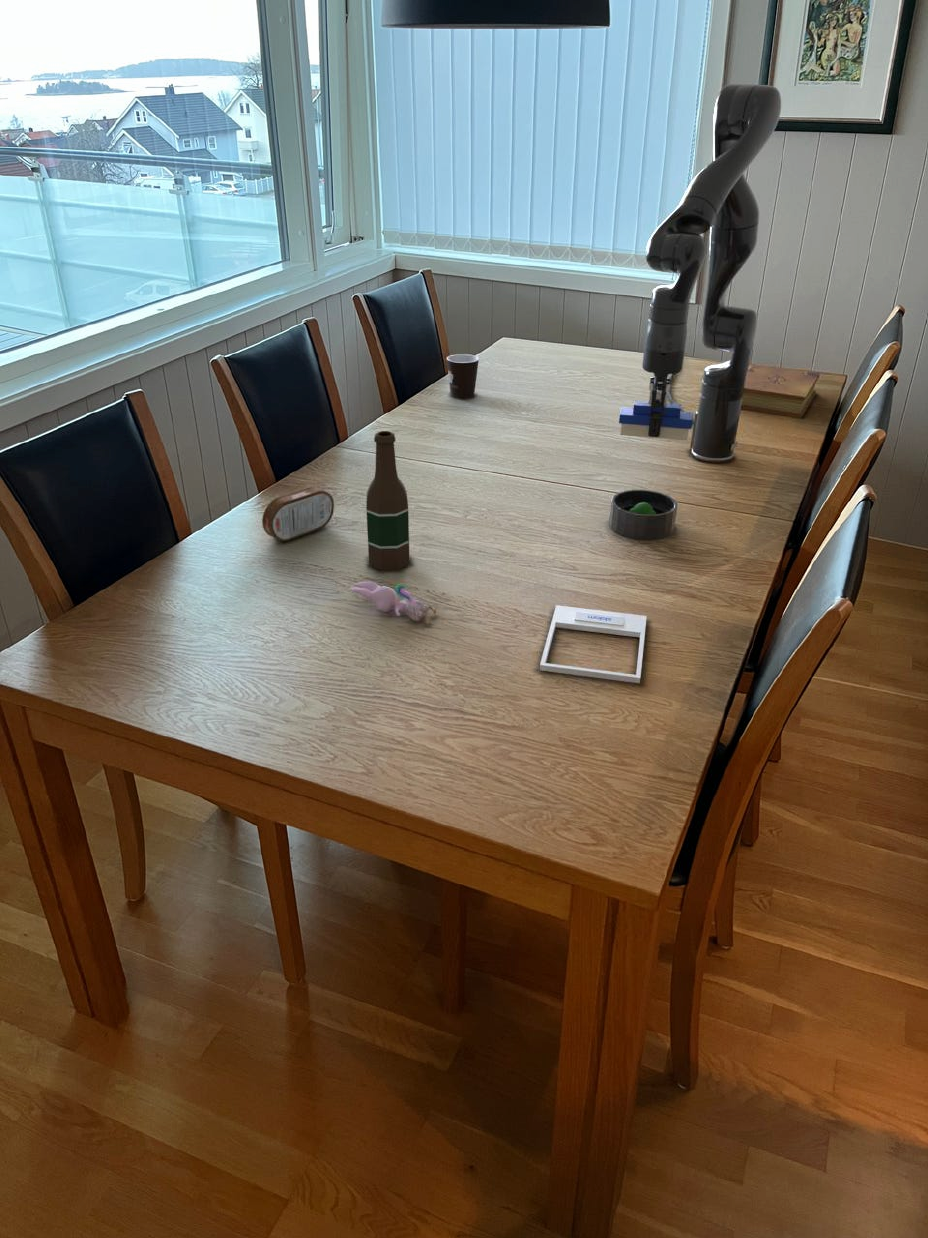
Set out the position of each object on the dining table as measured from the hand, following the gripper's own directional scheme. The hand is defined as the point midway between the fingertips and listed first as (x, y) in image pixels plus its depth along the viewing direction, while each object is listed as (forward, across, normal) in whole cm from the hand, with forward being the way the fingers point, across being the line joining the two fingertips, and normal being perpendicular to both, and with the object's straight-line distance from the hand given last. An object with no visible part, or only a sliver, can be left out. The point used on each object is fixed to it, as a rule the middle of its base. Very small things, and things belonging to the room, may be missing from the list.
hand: (654, 431), depth 182 cm
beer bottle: (+15, +38, -44) cm, 60 cm away
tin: (+15, +31, -63) cm, 72 cm away
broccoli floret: (+14, +14, 0) cm, 20 cm away
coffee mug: (+15, -62, -52) cm, 83 cm away
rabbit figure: (+15, +55, -38) cm, 69 cm away
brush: (+1, 0, 0) cm, 1 cm away
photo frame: (+15, +58, -5) cm, 60 cm away
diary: (+15, -76, +31) cm, 84 cm away
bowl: (+15, +14, 0) cm, 20 cm away
